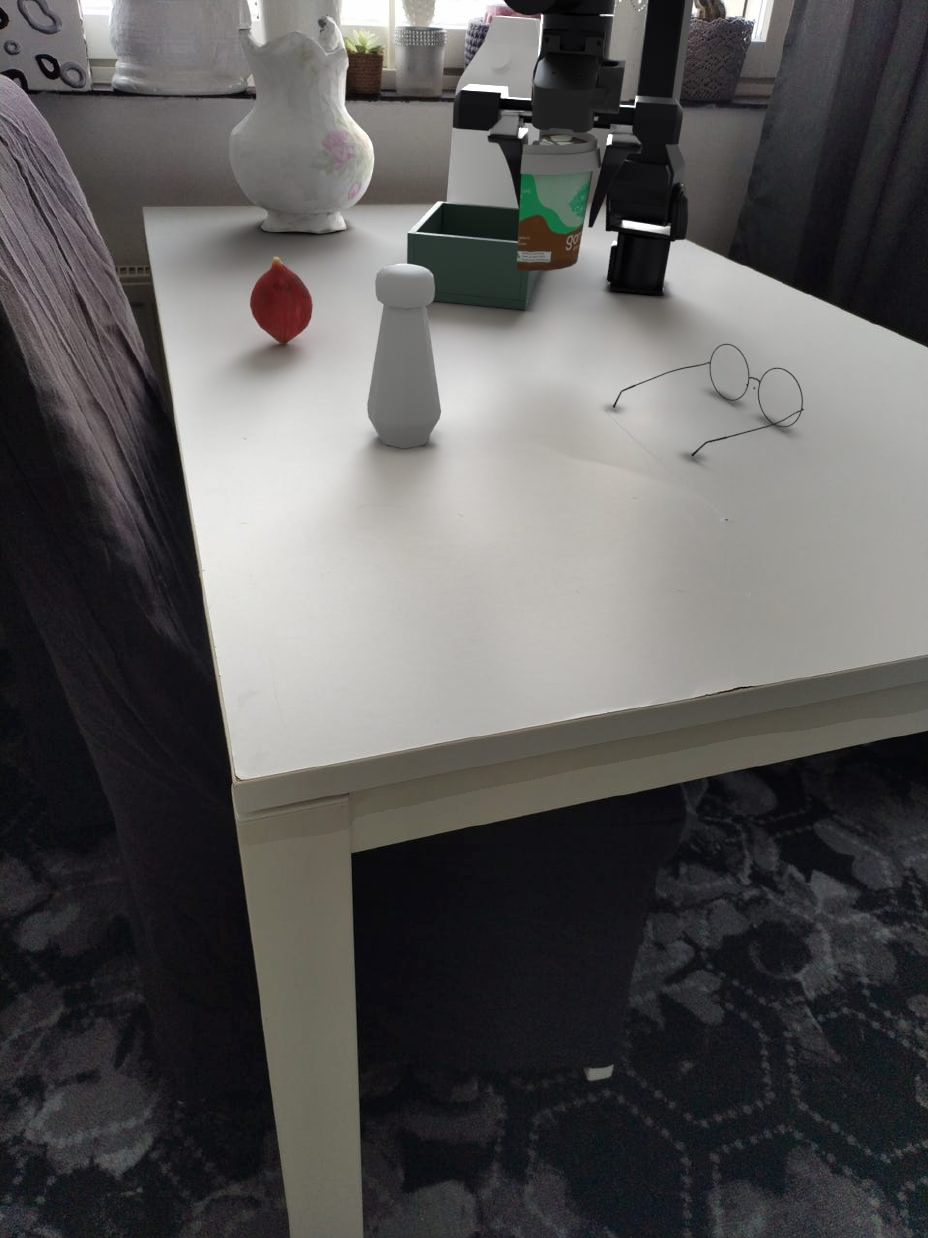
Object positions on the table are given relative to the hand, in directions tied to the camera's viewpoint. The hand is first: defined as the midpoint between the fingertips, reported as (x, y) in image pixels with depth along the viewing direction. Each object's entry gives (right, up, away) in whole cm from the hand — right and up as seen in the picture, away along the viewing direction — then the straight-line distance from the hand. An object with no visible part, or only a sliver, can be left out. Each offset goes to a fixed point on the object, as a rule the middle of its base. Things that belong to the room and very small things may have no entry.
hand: (556, 223), depth 79 cm
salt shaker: (-13, -21, -9) cm, 26 cm away
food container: (0, -3, +2) cm, 3 cm away
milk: (-3, +18, +45) cm, 49 cm away
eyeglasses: (+12, -19, -3) cm, 22 cm away
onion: (-26, -9, +7) cm, 28 cm away
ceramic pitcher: (-31, +21, +48) cm, 61 cm away
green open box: (-7, +5, +27) cm, 29 cm away
